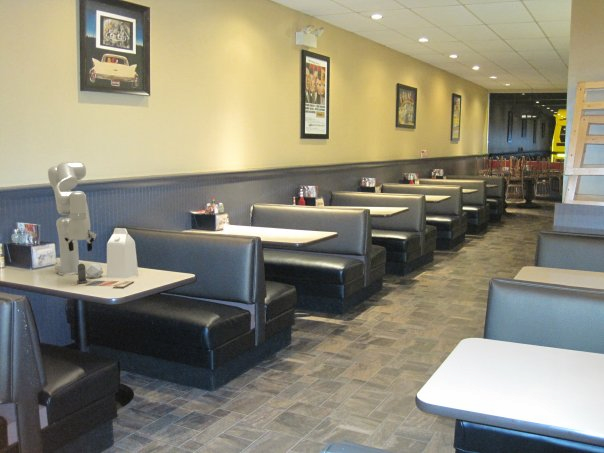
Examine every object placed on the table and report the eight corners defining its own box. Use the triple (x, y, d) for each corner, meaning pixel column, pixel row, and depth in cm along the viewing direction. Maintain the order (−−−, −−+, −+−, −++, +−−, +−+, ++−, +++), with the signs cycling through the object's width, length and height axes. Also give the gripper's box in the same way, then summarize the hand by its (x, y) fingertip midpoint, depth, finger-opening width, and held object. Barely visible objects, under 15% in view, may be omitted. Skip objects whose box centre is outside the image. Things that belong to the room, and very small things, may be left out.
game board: (69, 287, 297) (69, 285, 296) (82, 281, 309) (82, 280, 309) (123, 288, 293) (123, 286, 293) (133, 282, 306) (133, 281, 306)
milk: (138, 275, 324) (136, 227, 321) (126, 279, 313) (124, 230, 310) (118, 274, 328) (116, 227, 324) (106, 278, 317) (104, 229, 313)
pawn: (75, 283, 300) (74, 264, 299) (80, 281, 305) (79, 262, 304) (84, 284, 300) (83, 264, 298) (89, 282, 304) (88, 262, 303)
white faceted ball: (92, 282, 310) (103, 266, 312) (79, 273, 311) (90, 258, 313) (97, 284, 318) (108, 269, 320) (84, 276, 319) (95, 261, 321)
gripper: (58, 217, 295) (60, 252, 297) (91, 217, 293) (93, 252, 295) (66, 216, 303) (68, 249, 305) (98, 216, 301) (100, 249, 303)
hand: (80, 250), depth 300 cm, fingers open, 9 cm apart
